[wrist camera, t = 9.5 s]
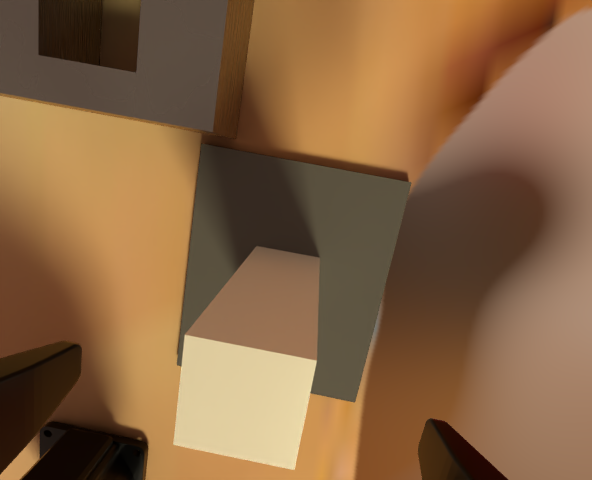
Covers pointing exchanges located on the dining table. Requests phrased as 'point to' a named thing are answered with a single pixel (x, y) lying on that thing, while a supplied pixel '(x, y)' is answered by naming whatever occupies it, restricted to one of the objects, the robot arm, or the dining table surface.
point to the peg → (252, 361)
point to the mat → (299, 245)
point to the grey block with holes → (150, 61)
